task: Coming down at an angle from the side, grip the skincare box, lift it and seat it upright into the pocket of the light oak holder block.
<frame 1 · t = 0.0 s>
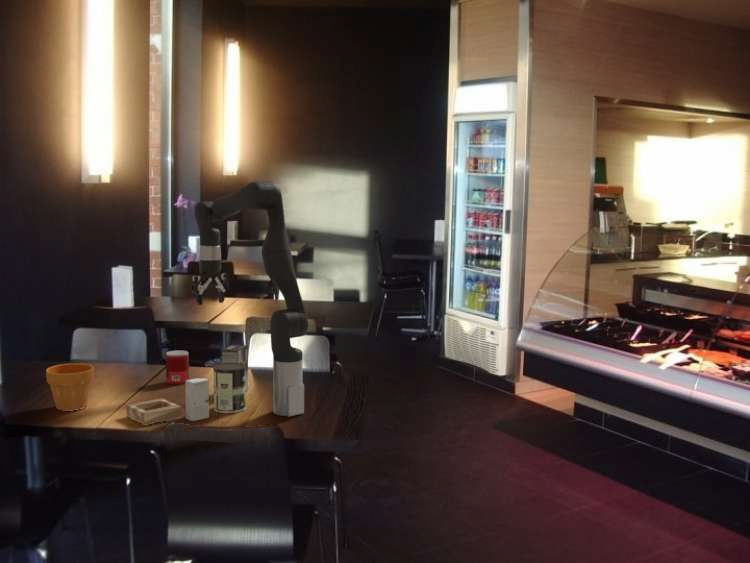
hand: (210, 303, 286), 29 cm above the table, tool pointing down, fingers open, 8 cm apart
flower pot: (71, 408, 258), on the table
holder: (153, 417, 250), on the table
coffee box: (235, 393, 279), on the table
coffee can: (229, 409, 260), on the table
canned food: (177, 382, 292), on the table
skincare box: (197, 418, 250), on the table
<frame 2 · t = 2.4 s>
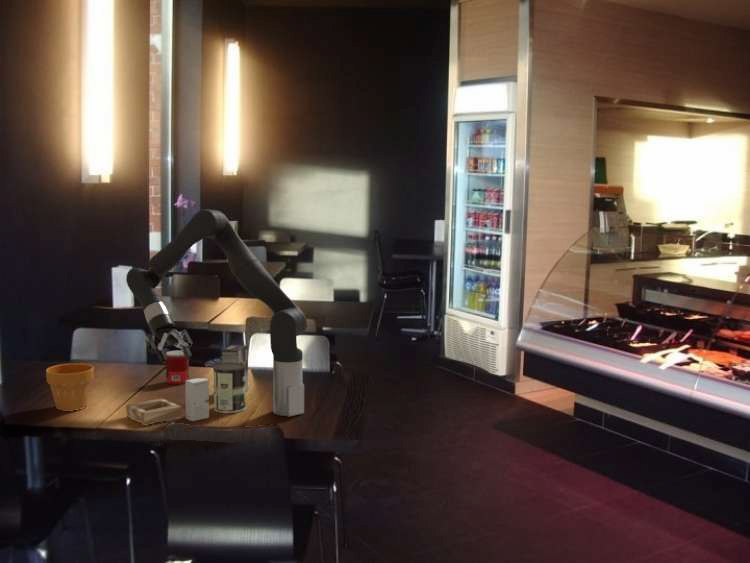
hand: (177, 360, 256), 16 cm above the table, tool tilted 45°, fingers open, 8 cm apart
nothing on the table moved.
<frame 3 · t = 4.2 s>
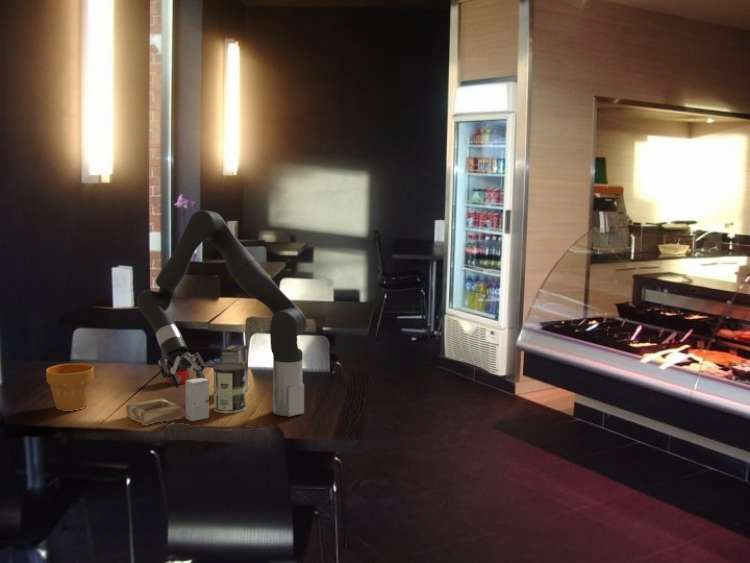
hand: (190, 384, 252), 10 cm above the table, tool tilted 45°, fingers open, 8 cm apart
nothing on the table moved.
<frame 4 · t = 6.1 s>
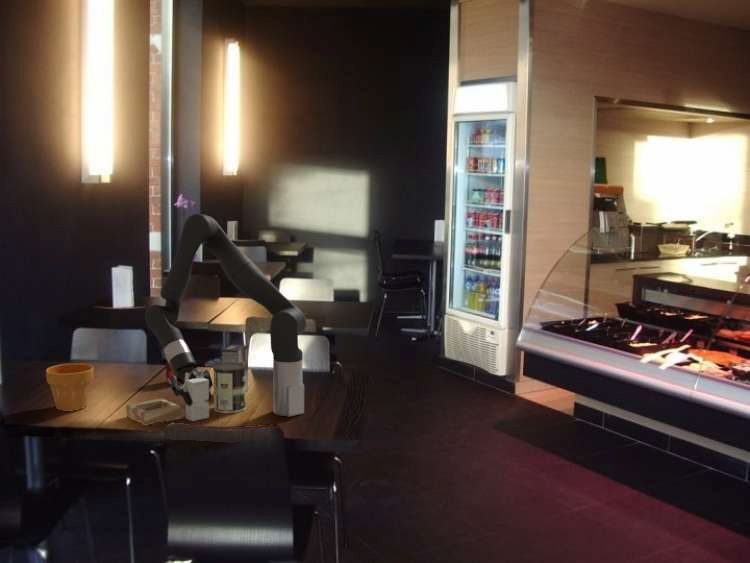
hand: (200, 402, 248), 5 cm above the table, tool tilted 45°, fingers closed on skincare box, 6 cm apart
skincare box: (197, 418, 250), on the table, touching gripper
everything else where it was.
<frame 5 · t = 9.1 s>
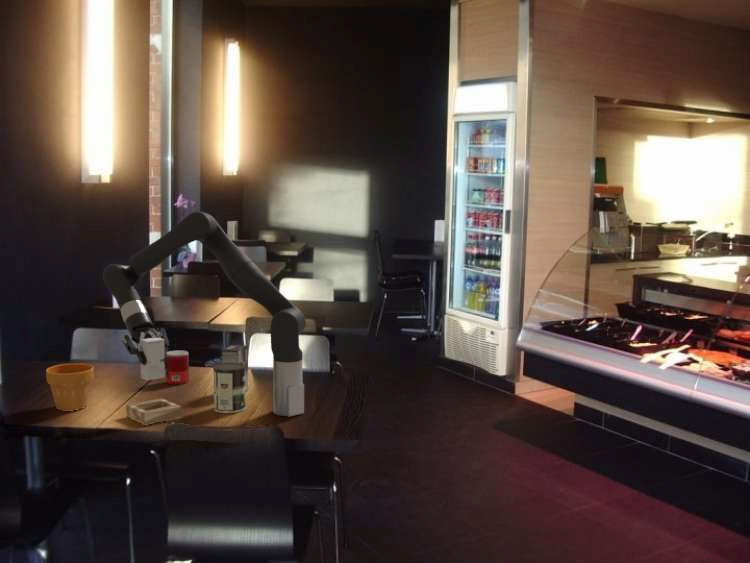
hand: (155, 361, 246), 18 cm above the table, tool tilted 45°, fingers closed on skincare box, 6 cm apart
skincare box: (152, 378, 248), point 12 cm above the table, touching gripper
everything else where it was.
when the fingers open (8 cm above the table, at t = 11.9 s): skincare box drops 1 cm, resting on holder.
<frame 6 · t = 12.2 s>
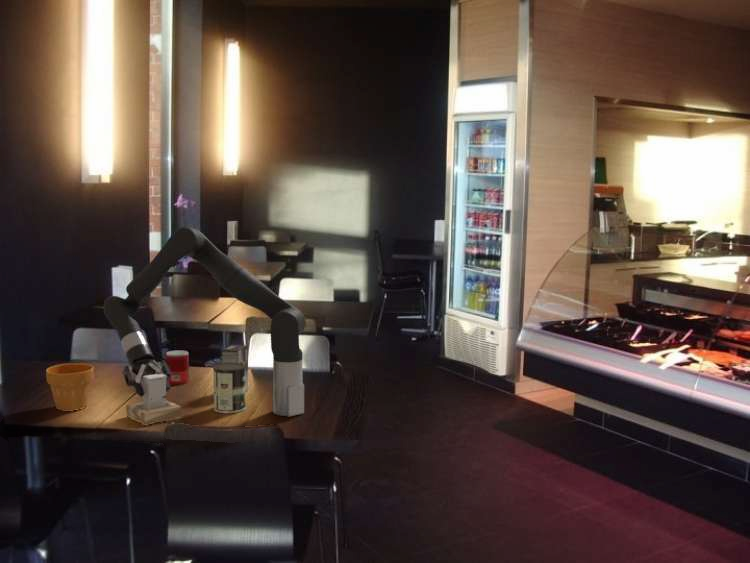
hand: (155, 392, 248), 8 cm above the table, tool tilted 45°, fingers open, 8 cm apart
skincare box: (154, 414, 250), point 1 cm above the table, touching holder
everything else where it was.
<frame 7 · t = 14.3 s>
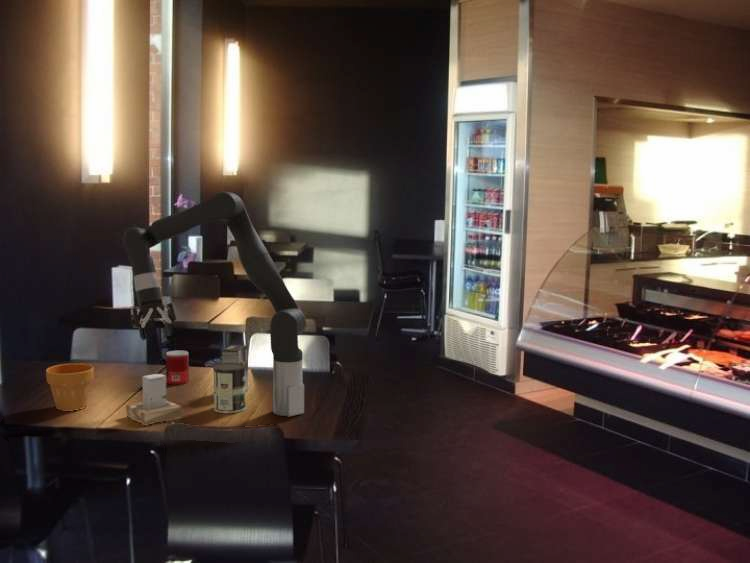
hand: (157, 337, 259), 23 cm above the table, tool tilted 15°, fingers open, 8 cm apart
nothing on the table moved.
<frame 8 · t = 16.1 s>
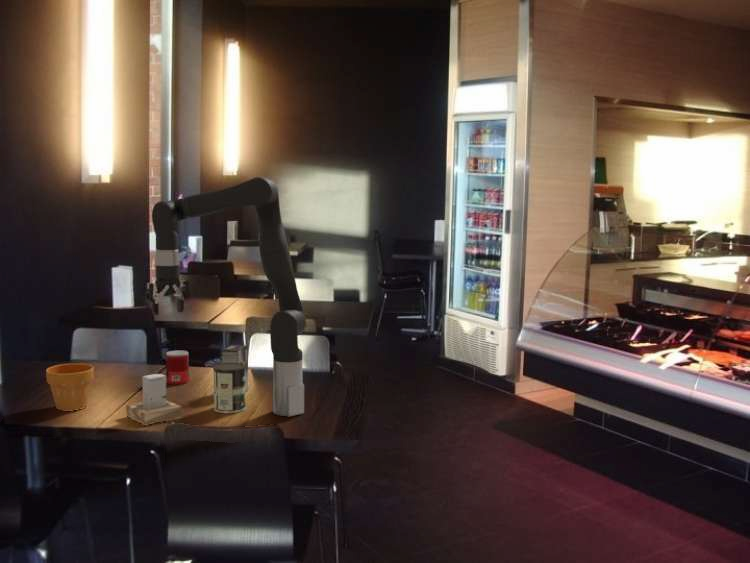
hand: (168, 313, 260), 30 cm above the table, tool pointing down, fingers open, 8 cm apart
nothing on the table moved.
at the end: skincare box 0.5 cm off-centre on the holder, point 0.8 cm above the holder's base; skincare box tilted 0°; the gripper is holding nothing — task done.
